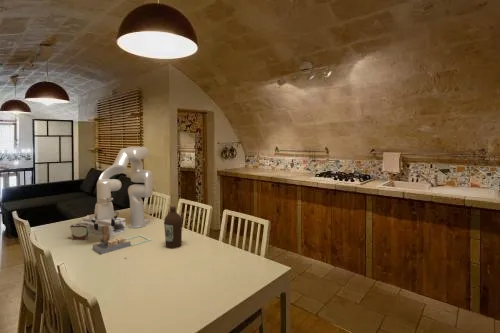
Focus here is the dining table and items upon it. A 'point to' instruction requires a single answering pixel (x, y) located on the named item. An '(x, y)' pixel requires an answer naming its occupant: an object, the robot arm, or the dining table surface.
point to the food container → (79, 231)
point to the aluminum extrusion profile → (118, 227)
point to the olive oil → (173, 228)
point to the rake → (105, 233)
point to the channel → (104, 248)
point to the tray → (139, 242)
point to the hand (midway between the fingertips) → (104, 228)
